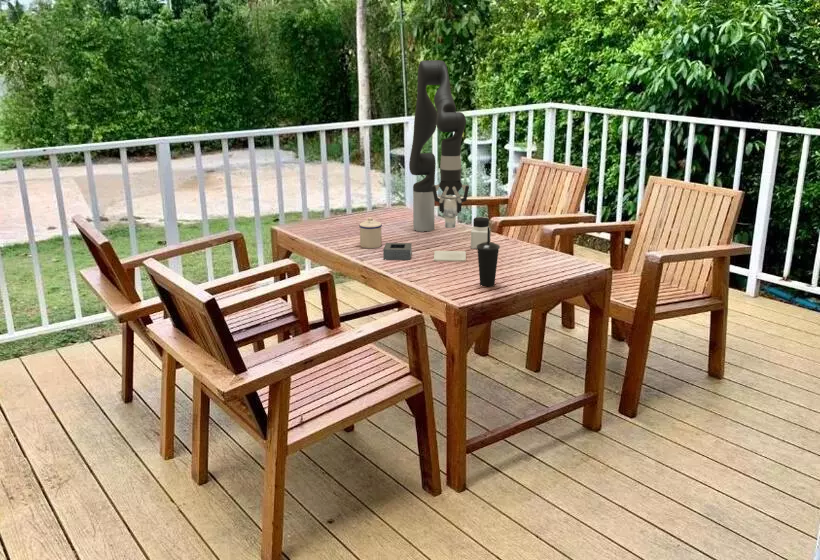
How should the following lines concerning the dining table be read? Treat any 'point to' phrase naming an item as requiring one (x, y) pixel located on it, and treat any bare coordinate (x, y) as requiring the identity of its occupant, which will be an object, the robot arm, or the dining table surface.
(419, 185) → the robot arm
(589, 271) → the dining table surface
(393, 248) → the housing
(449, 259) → the pad
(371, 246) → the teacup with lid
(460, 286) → the dining table surface
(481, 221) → the medicine bottle
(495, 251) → the drinking cup
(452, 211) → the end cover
